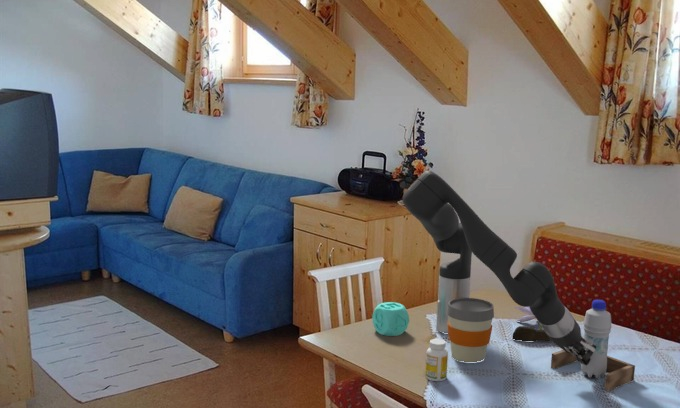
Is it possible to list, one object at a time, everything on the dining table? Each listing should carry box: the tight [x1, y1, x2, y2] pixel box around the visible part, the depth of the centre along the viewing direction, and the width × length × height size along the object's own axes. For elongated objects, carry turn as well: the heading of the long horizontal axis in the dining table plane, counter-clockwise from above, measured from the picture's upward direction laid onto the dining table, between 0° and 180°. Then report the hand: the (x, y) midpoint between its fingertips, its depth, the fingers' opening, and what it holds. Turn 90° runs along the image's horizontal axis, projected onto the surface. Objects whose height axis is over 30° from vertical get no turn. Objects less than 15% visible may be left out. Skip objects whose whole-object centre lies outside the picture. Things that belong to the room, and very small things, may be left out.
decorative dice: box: [371, 301, 410, 337], centre depth 209 cm, size 8×8×8 cm
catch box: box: [550, 349, 636, 392], centre depth 180 cm, size 11×17×4 cm, turn 36°
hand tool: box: [512, 325, 553, 343], centre depth 204 cm, size 19×4×5 cm, turn 84°
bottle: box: [580, 299, 612, 379], centre depth 179 cm, size 7×7×20 cm
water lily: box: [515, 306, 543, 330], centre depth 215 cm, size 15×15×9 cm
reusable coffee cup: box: [447, 297, 495, 362], centre depth 190 cm, size 13×13×15 cm
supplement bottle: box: [424, 338, 449, 382], centre depth 176 cm, size 5×5×10 cm
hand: (586, 361), depth 178 cm, fingers closed
